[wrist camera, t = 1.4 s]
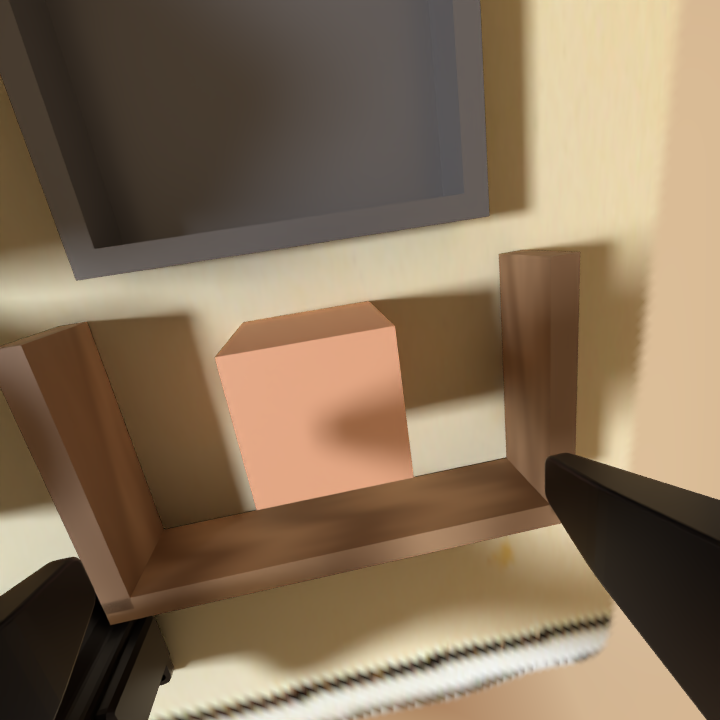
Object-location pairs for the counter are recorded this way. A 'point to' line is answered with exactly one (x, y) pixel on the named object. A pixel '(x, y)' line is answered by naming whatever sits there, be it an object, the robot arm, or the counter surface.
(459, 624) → the counter surface
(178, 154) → the box
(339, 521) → the cubby
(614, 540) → the robot arm
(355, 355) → the cube
